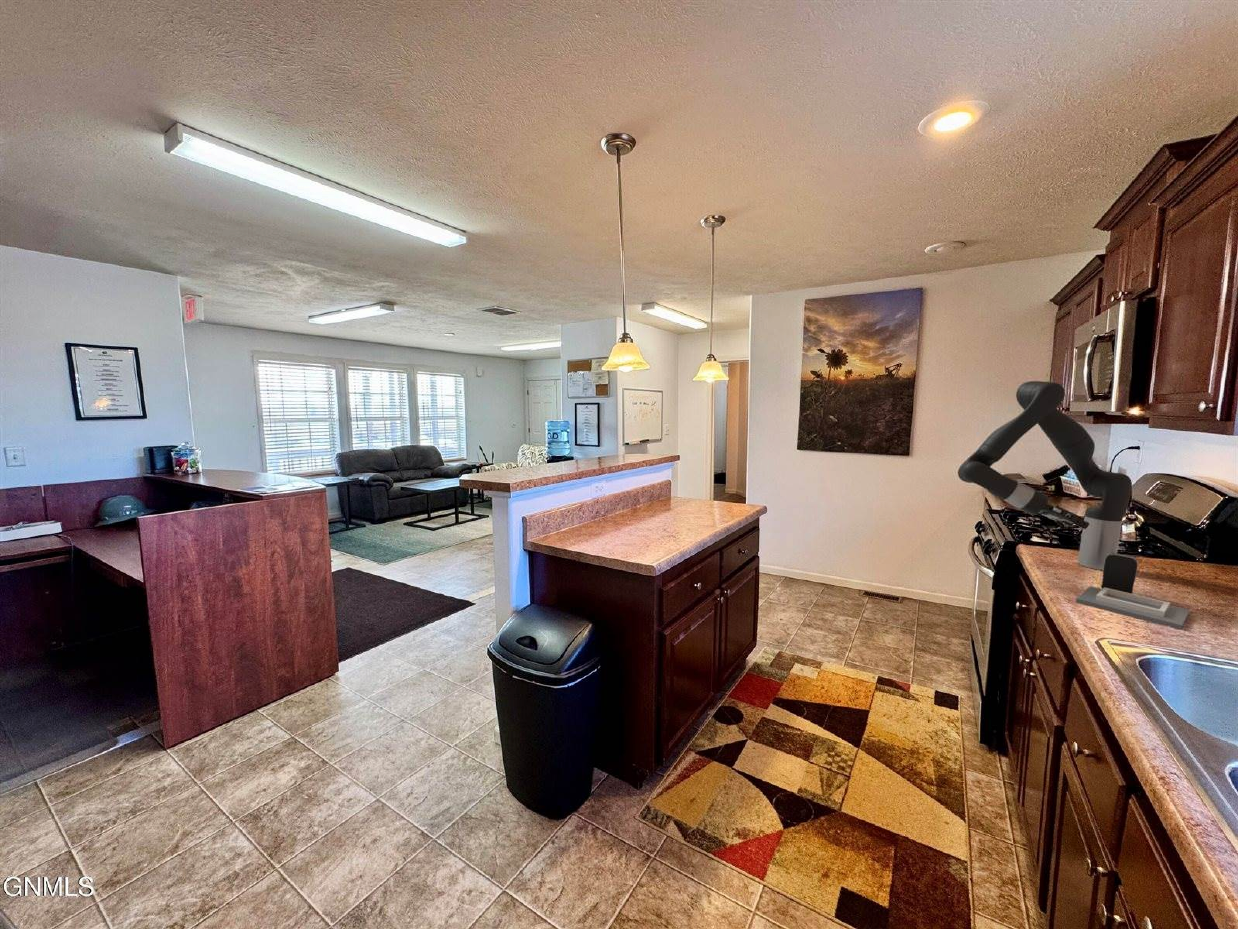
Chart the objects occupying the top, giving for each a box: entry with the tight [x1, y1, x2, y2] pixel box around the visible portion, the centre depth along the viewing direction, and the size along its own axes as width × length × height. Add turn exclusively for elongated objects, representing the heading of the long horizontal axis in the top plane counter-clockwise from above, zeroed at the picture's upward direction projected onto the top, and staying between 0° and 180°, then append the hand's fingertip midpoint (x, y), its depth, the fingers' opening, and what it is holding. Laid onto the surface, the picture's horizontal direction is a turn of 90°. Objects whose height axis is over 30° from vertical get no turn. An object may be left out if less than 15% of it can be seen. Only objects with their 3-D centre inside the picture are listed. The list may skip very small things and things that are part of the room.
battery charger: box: [1100, 553, 1139, 594], centre depth 148 cm, size 7×4×11 cm, turn 40°
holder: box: [1075, 585, 1191, 630], centre depth 136 cm, size 16×20×3 cm
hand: (1080, 525), depth 154 cm, fingers open, 8 cm apart
